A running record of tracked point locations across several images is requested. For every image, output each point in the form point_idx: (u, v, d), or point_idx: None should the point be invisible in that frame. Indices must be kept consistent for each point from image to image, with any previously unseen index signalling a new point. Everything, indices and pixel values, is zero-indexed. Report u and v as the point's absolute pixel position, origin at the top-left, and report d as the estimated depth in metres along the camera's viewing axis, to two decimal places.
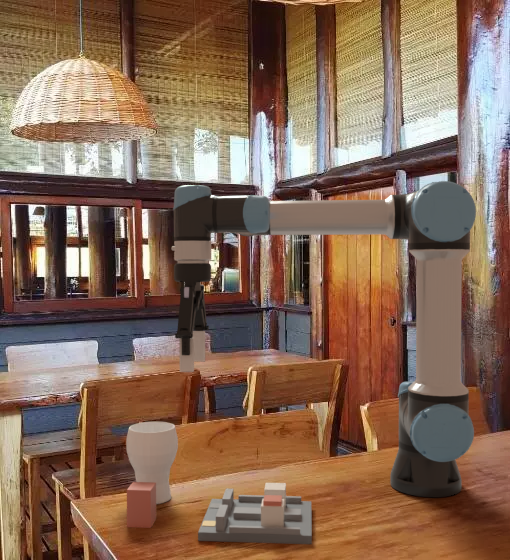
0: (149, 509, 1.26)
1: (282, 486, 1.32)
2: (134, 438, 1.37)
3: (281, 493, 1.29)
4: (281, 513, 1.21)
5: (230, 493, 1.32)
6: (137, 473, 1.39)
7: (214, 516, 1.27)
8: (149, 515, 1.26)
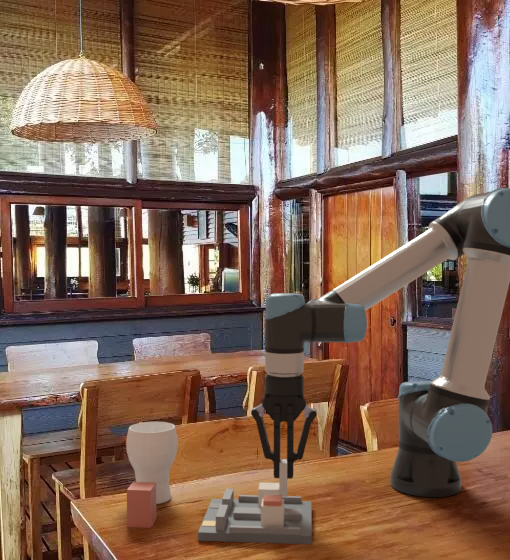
0: (149, 509, 1.26)
1: (276, 486, 1.32)
2: (134, 438, 1.37)
3: (275, 493, 1.30)
4: (281, 513, 1.21)
5: (230, 493, 1.32)
6: (137, 473, 1.39)
7: (214, 516, 1.27)
8: (149, 515, 1.26)
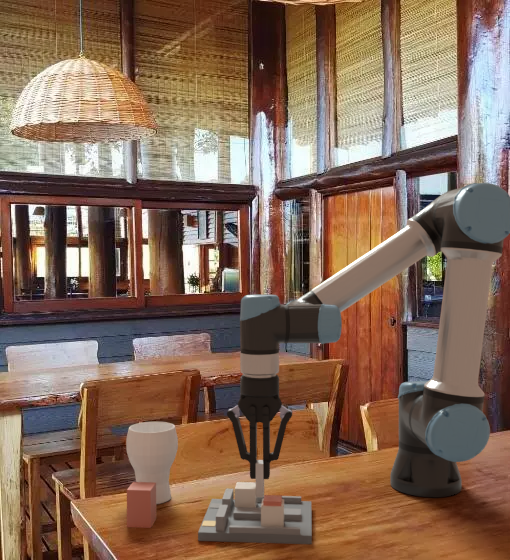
0: (149, 509, 1.26)
1: (252, 485, 1.32)
2: (134, 438, 1.37)
3: (251, 492, 1.30)
4: (281, 513, 1.21)
5: (230, 493, 1.32)
6: (137, 473, 1.39)
7: (214, 516, 1.27)
8: (149, 515, 1.26)
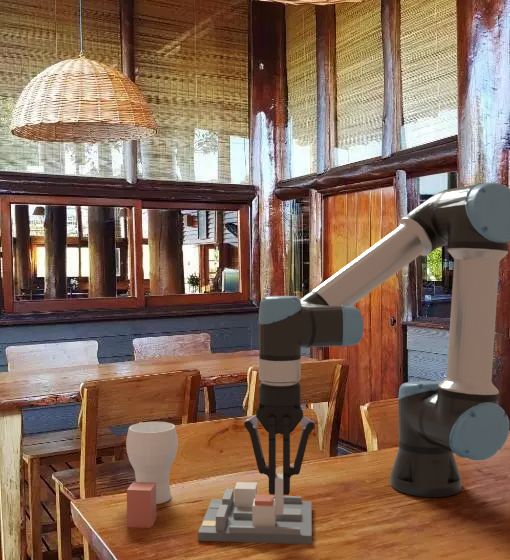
0: (149, 509, 1.26)
1: (252, 485, 1.32)
2: (134, 438, 1.37)
3: (251, 492, 1.30)
4: (272, 513, 1.21)
5: (230, 493, 1.32)
6: (137, 473, 1.39)
7: (214, 516, 1.27)
8: (149, 515, 1.26)
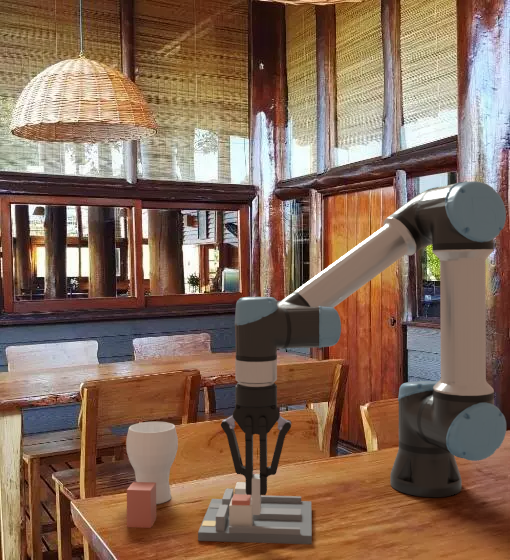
0: (149, 509, 1.26)
1: None
2: (134, 438, 1.37)
3: None
4: (249, 512, 1.21)
5: (230, 493, 1.32)
6: (137, 473, 1.39)
7: (214, 516, 1.27)
8: (149, 515, 1.26)
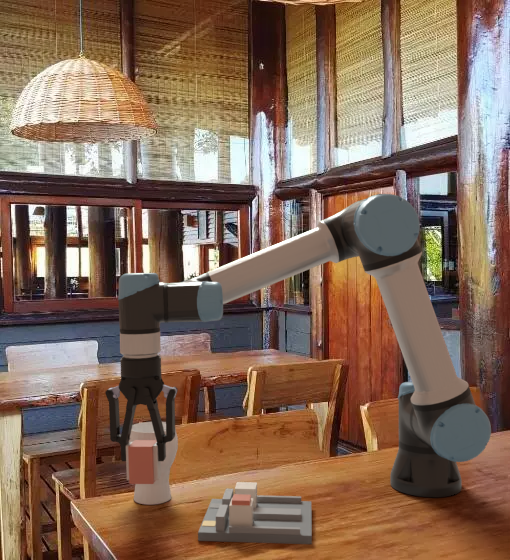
0: (151, 465, 1.26)
1: (252, 485, 1.32)
2: (134, 438, 1.37)
3: (251, 492, 1.30)
4: (249, 512, 1.21)
5: (230, 493, 1.32)
6: None
7: (214, 516, 1.27)
8: (151, 471, 1.26)
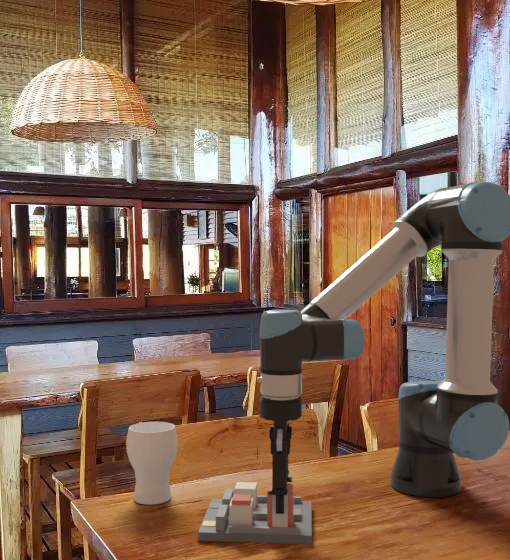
0: (293, 503, 1.24)
1: (252, 485, 1.32)
2: (134, 438, 1.37)
3: (251, 492, 1.30)
4: (249, 512, 1.21)
5: (230, 493, 1.32)
6: (137, 473, 1.39)
7: (214, 516, 1.27)
8: (293, 509, 1.24)
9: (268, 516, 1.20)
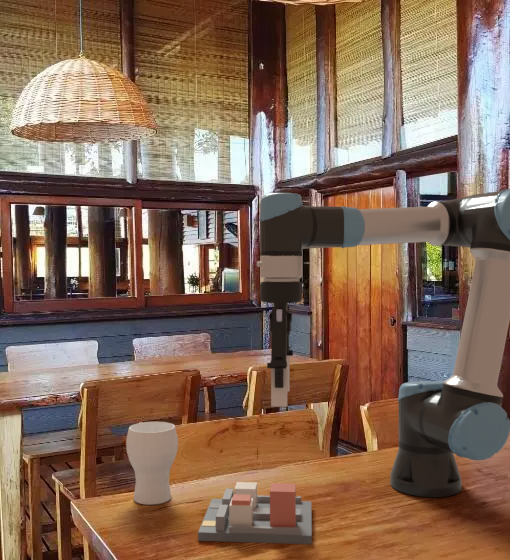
0: None
1: (252, 485, 1.32)
2: (134, 438, 1.37)
3: (251, 492, 1.30)
4: (249, 512, 1.21)
5: (230, 493, 1.32)
6: (137, 473, 1.39)
7: (214, 516, 1.27)
8: None
9: (270, 516, 1.20)
